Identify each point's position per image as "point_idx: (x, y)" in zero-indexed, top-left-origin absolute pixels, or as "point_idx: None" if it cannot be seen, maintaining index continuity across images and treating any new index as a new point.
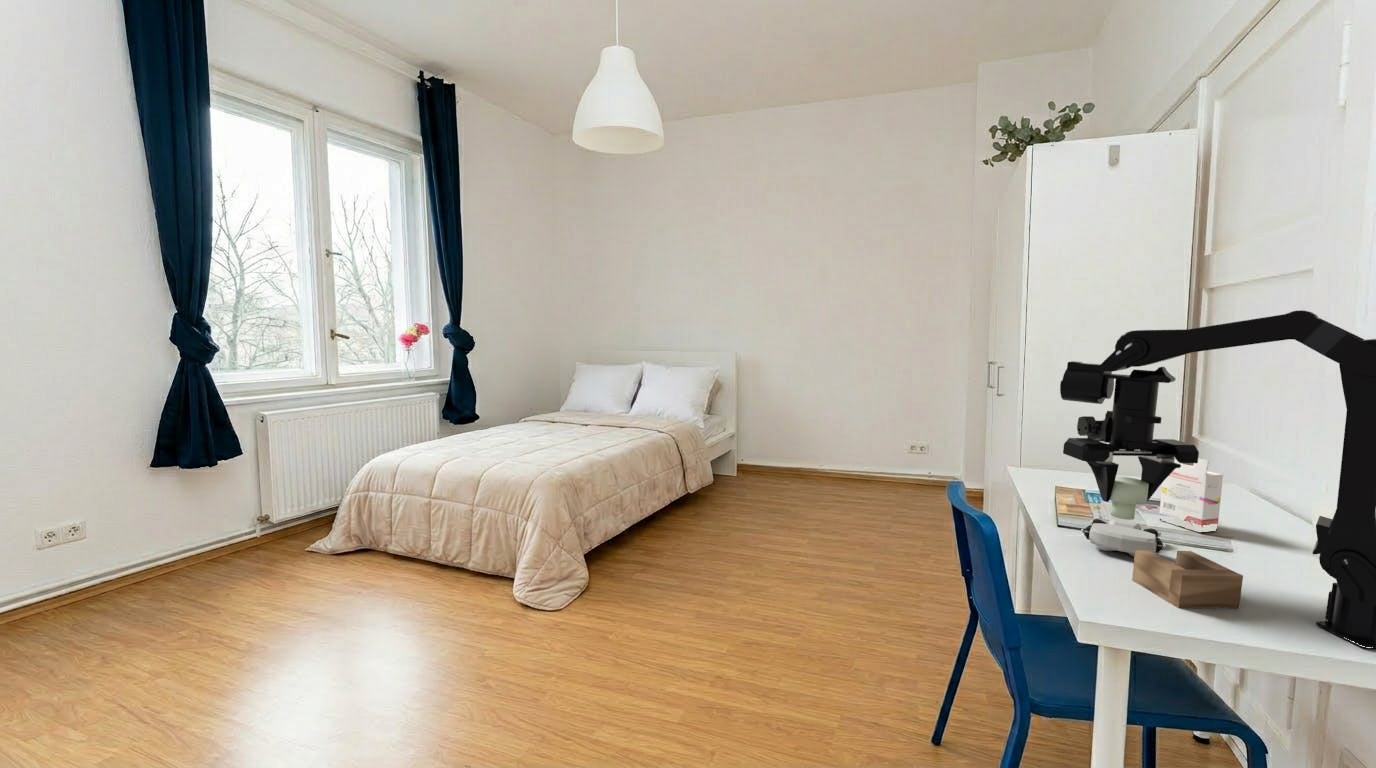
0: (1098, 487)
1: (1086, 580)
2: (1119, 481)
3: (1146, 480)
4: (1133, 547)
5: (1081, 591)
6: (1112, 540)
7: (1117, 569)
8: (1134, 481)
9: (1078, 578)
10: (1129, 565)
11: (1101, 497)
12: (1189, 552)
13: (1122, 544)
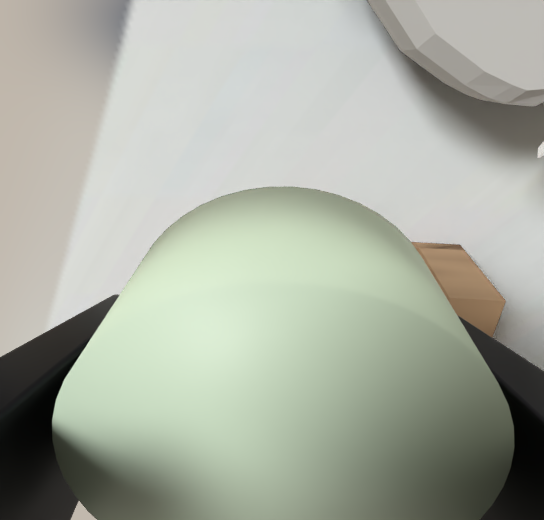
0: (28, 345)
1: (131, 229)
2: (180, 481)
3: (530, 503)
4: (444, 78)
5: (79, 292)
6: (387, 15)
7: (298, 149)
8: (370, 485)
9: (113, 215)
10: (377, 113)
11: (101, 303)
12: (481, 314)
13: (411, 52)
